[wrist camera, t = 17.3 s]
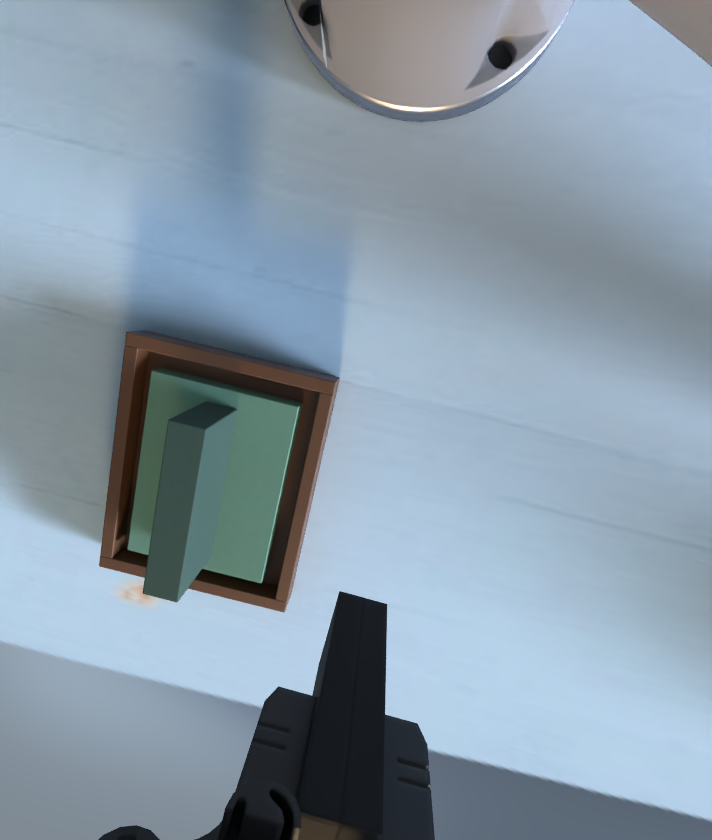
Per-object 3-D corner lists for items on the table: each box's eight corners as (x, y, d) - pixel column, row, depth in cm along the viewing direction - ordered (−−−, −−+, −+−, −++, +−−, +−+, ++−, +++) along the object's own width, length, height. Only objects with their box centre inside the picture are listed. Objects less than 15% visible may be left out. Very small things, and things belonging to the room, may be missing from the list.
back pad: (163, 367, 30) (101, 382, 23) (303, 402, 29) (279, 426, 23) (138, 539, 32) (77, 594, 26) (267, 571, 32) (237, 634, 26)
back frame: (144, 330, 30) (125, 331, 28) (340, 377, 30) (336, 382, 28) (116, 550, 33) (98, 566, 31) (291, 594, 33) (284, 613, 31)
